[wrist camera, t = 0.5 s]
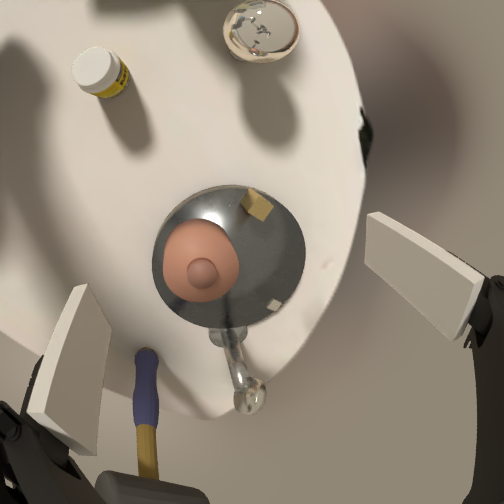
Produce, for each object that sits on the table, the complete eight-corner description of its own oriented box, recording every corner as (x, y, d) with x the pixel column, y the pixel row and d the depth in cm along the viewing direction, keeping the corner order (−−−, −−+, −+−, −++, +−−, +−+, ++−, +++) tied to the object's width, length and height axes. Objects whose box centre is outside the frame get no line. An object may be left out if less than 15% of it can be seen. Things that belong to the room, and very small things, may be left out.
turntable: (129, 285, 35) (123, 313, 29) (206, 153, 30) (211, 159, 25) (246, 334, 44) (256, 362, 38) (324, 234, 39) (347, 253, 33)
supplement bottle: (133, 91, 25) (118, 79, 18) (96, 104, 25) (71, 99, 17) (127, 56, 23) (111, 35, 16) (90, 70, 22) (64, 55, 15)
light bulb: (270, 31, 25) (313, -5, 15) (268, 79, 28) (312, 59, 18) (214, 26, 24) (232, -19, 13) (210, 75, 27) (227, 48, 16)
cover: (153, 262, 32) (149, 290, 26) (186, 205, 30) (187, 224, 25) (208, 288, 35) (215, 318, 30) (243, 238, 34) (256, 262, 28)
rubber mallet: (105, 347, 39) (91, 524, 13) (125, 321, 38) (115, 523, 11) (165, 377, 45) (185, 536, 18) (189, 355, 43) (223, 530, 17)
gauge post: (201, 337, 42) (217, 419, 29) (221, 311, 41) (244, 393, 27) (232, 348, 45) (256, 424, 31) (252, 323, 44) (284, 400, 30)
